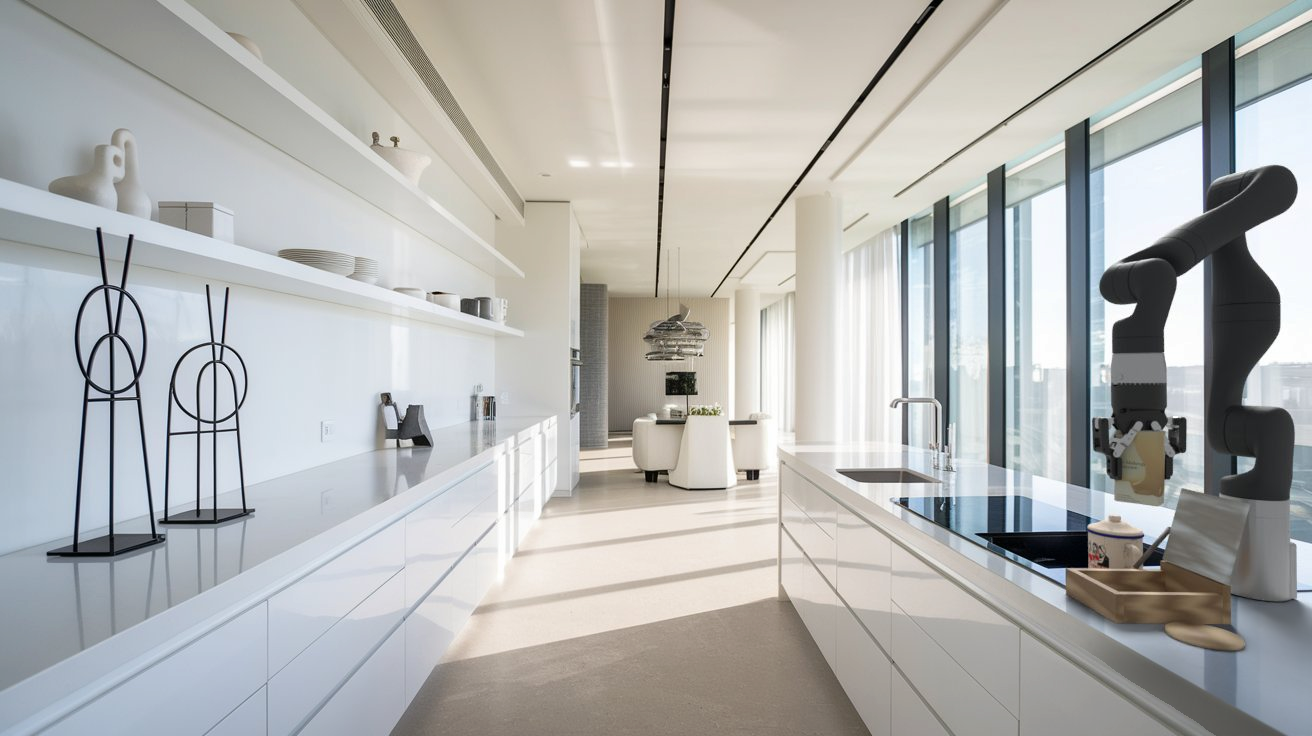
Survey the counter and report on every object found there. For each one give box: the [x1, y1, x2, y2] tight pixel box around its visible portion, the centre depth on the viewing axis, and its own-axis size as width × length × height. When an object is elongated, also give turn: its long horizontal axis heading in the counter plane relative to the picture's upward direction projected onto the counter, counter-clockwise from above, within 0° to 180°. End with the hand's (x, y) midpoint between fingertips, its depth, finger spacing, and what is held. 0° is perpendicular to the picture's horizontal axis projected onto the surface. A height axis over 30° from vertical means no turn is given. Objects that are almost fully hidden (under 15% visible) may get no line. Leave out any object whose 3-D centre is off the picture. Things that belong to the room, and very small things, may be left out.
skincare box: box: [1113, 429, 1166, 507], centre depth 108 cm, size 6×4×12 cm
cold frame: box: [1065, 487, 1250, 625], centre depth 109 cm, size 21×14×19 cm
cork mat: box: [1164, 622, 1245, 652], centre depth 96 cm, size 9×9×1 cm
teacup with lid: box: [1086, 514, 1145, 569], centre depth 124 cm, size 12×9×12 cm
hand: (1139, 478), depth 108 cm, fingers closed on skincare box, 7 cm apart
